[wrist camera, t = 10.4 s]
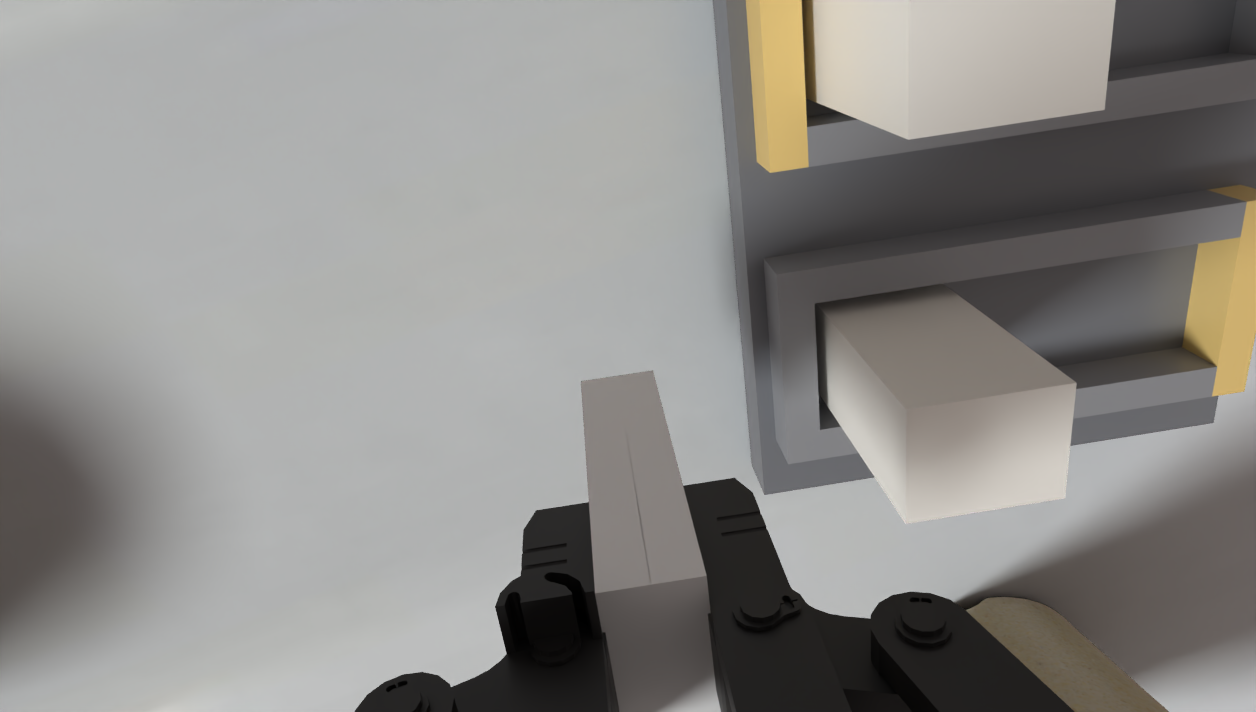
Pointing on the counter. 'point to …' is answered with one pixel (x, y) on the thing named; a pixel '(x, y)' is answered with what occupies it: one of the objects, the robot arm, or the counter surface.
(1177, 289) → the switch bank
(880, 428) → the tab
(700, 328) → the counter surface
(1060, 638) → the flower pot
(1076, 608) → the counter surface
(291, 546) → the counter surface
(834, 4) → the tab
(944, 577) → the counter surface
